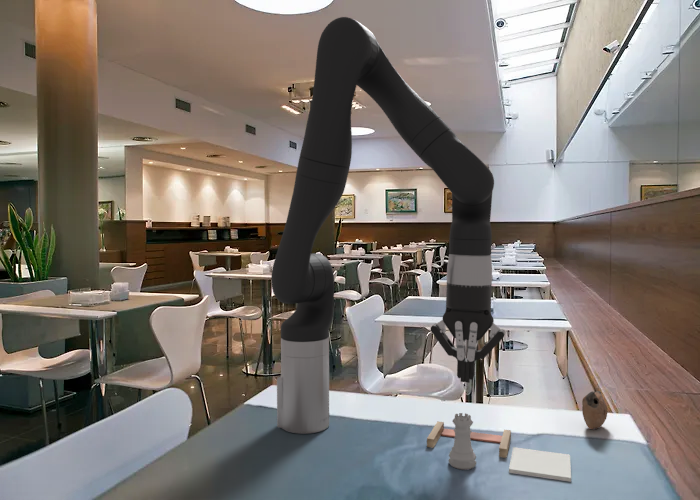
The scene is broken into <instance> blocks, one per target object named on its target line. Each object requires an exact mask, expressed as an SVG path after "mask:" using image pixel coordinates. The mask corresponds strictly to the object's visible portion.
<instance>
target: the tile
mask: <svg viewBox="0 0 700 500" xmlns="http://www.w3.org/2000/svg"><path fill="white" fill-rule="evenodd" d="M509 462H510V463H509V466H508V467H509V468H508V473H509V474H514V475H516V474H517V475H521V476H529V477H536V478H542V479H550V480H556V481H563V482H570V483H572V470H571V469H572V467H571V455H570V454H568V453H567V454H566V453H560V452H553V451H545V450H537V449H536V450H535V449H529V448H521V447H516V446H514V447H513V446H512V452H511V456H510V461H509Z"/></svg>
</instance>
